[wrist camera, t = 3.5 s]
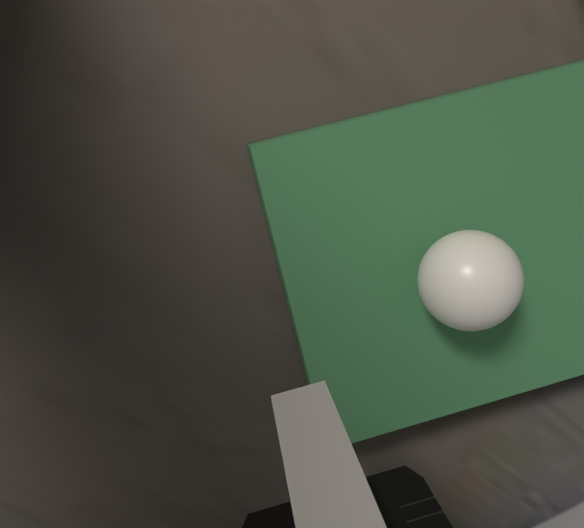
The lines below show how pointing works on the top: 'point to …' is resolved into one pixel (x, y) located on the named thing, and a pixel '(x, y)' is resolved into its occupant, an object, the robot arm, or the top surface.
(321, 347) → the green
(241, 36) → the top surface
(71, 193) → the top surface
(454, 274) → the ball
